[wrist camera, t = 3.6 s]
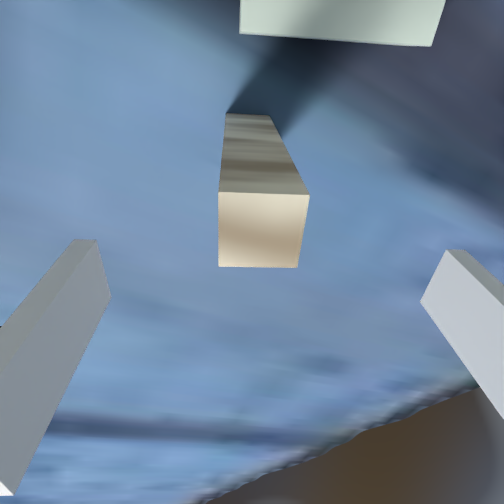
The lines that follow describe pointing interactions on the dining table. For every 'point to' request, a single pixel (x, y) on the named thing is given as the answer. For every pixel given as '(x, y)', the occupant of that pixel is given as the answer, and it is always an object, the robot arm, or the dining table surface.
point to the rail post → (259, 196)
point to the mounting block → (344, 20)
